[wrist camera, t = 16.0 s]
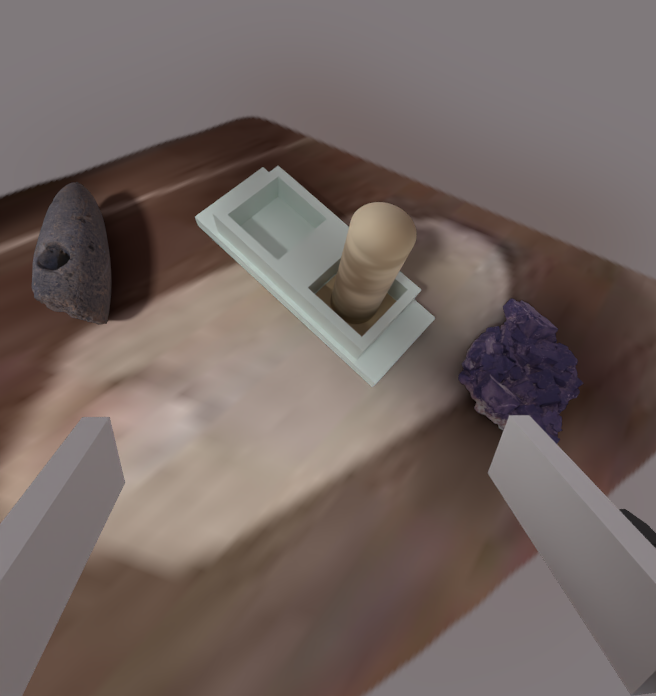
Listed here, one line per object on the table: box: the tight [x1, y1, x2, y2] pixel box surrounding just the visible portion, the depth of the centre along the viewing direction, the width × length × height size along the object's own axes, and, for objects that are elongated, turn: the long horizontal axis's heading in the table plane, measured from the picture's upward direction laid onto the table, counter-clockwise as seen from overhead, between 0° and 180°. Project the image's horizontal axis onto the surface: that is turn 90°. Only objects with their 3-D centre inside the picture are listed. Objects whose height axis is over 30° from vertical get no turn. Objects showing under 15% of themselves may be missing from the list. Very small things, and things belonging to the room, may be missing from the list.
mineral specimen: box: [458, 298, 583, 444], centre depth 38 cm, size 11×14×4 cm
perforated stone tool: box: [32, 182, 111, 324], centre depth 35 cm, size 15×5×7 cm, turn 9°
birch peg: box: [331, 202, 417, 324], centre depth 33 cm, size 5×5×12 cm
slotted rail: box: [195, 166, 435, 387], centre depth 39 cm, size 26×10×4 cm, turn 48°
